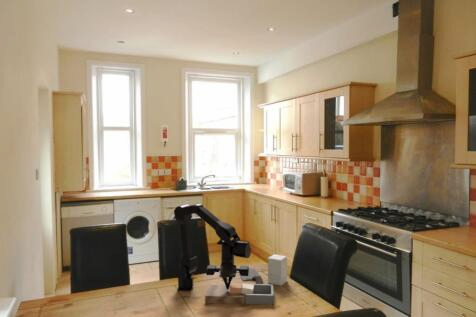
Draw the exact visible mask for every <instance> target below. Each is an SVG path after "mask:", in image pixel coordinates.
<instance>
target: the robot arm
mask: <svg viewBox="0 0 476 317" xmlns="http://www.w3.org/2000/svg"><path fill="white" fill-rule="evenodd" d="M173 213H174V218H175V221H176V222H177V224H178V226H179V237H180V246H181V257H180V261H179V268H178V269H177V270H176V272H175V273H174V274H175V278H176V279H177V280H178V282H177V283H178V284H177V285H178V287H177V291H189V292H190V291H192V289H193V288H194V285H195V284H194V282H195V281H194V276H193V274H195V272H196V270H197V269H198V266H199V261H198V260H199V259H198V256H195V254H194V253H193V246H192V244H193V243H192V236H191V235H192V234H191V225H190V223H191V220H192V217H193V214H195V215H196V216H198V218H200V219H201V220H203V221H204V222H205V223H206V225H208V226H210V227H211V228H212V229H213V230H214V232H215V234H216V236H217V237H218V238H219V240H218V242H216V244H217V245H220V246H221V247H220V248H221V249H220V251H221V252H220V253H221V258H220V259H221V263H220V265H219V267H217V266H218V265H216V264H209V265H207V267H206V268H205V269H206V270H205V274H206V276H214V275H215V273H219V275H218V277H219V278H221V279H222V281H223V282H224V285H226V288H227V290H229V287H230V285H231V283H232V280H233V279H234V278H237V273H238V274H239V276H240V275H241V276H248V275H249V269H250V267H249V266H248V265H240V266H239V267H237V265H236V264H235V257H237V258H242V259H249V258H250V256H251V253H252V248H251V245H250V243H249V241H241V240H242V239H241V238H240V236H239V235H238V233H237V231H236V230H237V229H236V228H235V227H234V226H233V225H231V224H230V223H227V222H224V221H222V220H220V219H219V218H218V217H217V216H215V215H214V214H213V213H212V212H210V211H209V210H208V209H207V208H206V207H204V205H203V204H201V203H198V204H191V205H189V204H185V203H184V204H181V205H178V206H176V207H175V209H174V210H173Z"/></svg>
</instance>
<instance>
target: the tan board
mask: <svg viewBox="0 0 476 317" xmlns="http://www.w3.org/2000/svg"><path fill="white" fill-rule="evenodd" d="M230 286H231V284H230ZM204 303H205V304H234V305H235V304H237V305H245V304H246V294H243V293H241V294H240V293H230V287H229V290H227V288H226V285H225V284H209V285H208V287H207V290H206V293H205V295H204Z"/></svg>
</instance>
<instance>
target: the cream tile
mask: <svg viewBox="0 0 476 317" xmlns="http://www.w3.org/2000/svg"><path fill="white" fill-rule="evenodd" d="M251 284H252V283H244V282H243V283H242V292H241V293H243V294H254V293H253V288H254V285H251Z"/></svg>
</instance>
